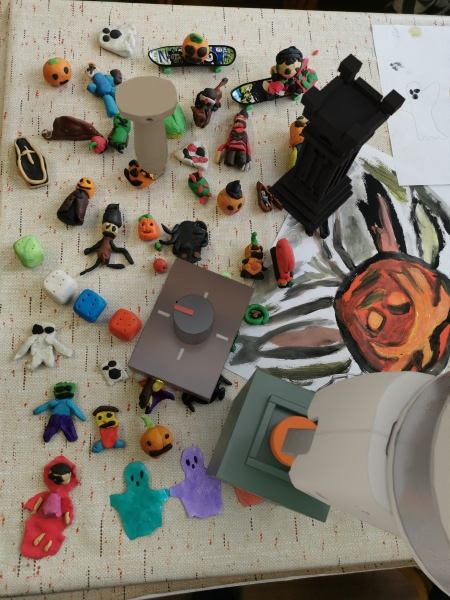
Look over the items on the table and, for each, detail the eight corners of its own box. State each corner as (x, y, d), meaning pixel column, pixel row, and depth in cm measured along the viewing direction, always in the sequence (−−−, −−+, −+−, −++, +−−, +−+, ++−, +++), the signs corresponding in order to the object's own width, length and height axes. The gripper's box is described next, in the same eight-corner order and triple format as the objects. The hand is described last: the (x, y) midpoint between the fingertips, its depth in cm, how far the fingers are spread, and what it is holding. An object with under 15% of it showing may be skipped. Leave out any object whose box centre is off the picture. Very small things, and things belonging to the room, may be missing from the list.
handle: (126, 155, 73) (113, 78, 58) (175, 151, 73) (174, 74, 59) (130, 188, 71) (117, 118, 57) (180, 183, 72) (179, 113, 58)
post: (280, 506, 62) (330, 525, 41) (204, 474, 62) (216, 477, 41) (306, 428, 64) (366, 409, 43) (233, 398, 65) (258, 365, 44)
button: (308, 474, 41) (313, 474, 40) (263, 456, 42) (266, 455, 40) (323, 428, 43) (328, 427, 41) (279, 410, 43) (283, 408, 41)
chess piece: (266, 192, 73) (296, 94, 54) (307, 155, 75) (350, 48, 56) (311, 233, 71) (358, 148, 52) (351, 195, 73) (411, 99, 54)
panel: (209, 402, 64) (210, 399, 61) (129, 369, 65) (126, 365, 62) (252, 295, 68) (255, 287, 65) (176, 265, 69) (176, 256, 66)
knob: (217, 314, 64) (220, 301, 59) (204, 350, 63) (206, 339, 58) (181, 301, 64) (181, 287, 59) (167, 336, 63) (166, 325, 58)
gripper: (798, 456, 17) (483, 466, 34) (325, 273, 17) (254, 375, 35) (784, 740, 14) (453, 595, 32) (239, 516, 15) (209, 494, 32)
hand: (349, 480), depth 33 cm, fingers closed
